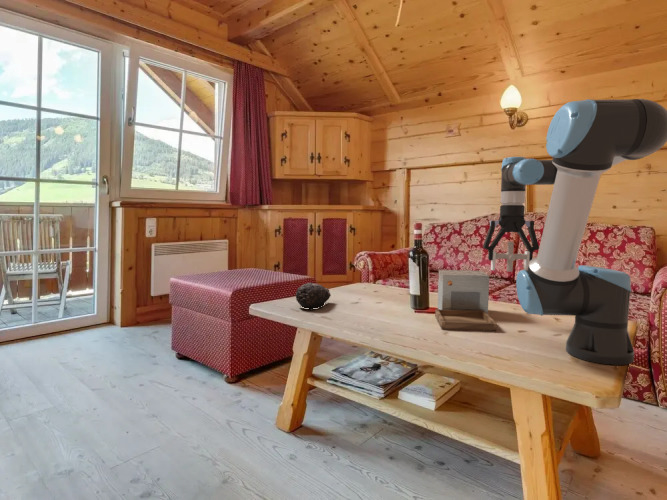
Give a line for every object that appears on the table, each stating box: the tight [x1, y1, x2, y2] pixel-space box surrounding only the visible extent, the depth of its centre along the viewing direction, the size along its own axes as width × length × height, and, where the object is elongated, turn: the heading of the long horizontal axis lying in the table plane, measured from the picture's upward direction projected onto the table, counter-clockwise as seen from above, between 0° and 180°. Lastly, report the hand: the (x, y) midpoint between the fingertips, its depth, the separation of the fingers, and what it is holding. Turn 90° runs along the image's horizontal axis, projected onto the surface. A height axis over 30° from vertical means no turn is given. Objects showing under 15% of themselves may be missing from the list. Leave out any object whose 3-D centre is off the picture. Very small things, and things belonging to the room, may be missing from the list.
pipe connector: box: [495, 241, 527, 273], centre depth 140 cm, size 10×10×10 cm
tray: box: [434, 308, 498, 333], centre depth 139 cm, size 17×17×2 cm
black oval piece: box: [295, 282, 332, 309], centre depth 164 cm, size 10×18×10 cm, turn 158°
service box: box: [437, 269, 490, 315], centre depth 153 cm, size 13×16×15 cm
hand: (509, 270), depth 140 cm, fingers closed on pipe connector, 10 cm apart
